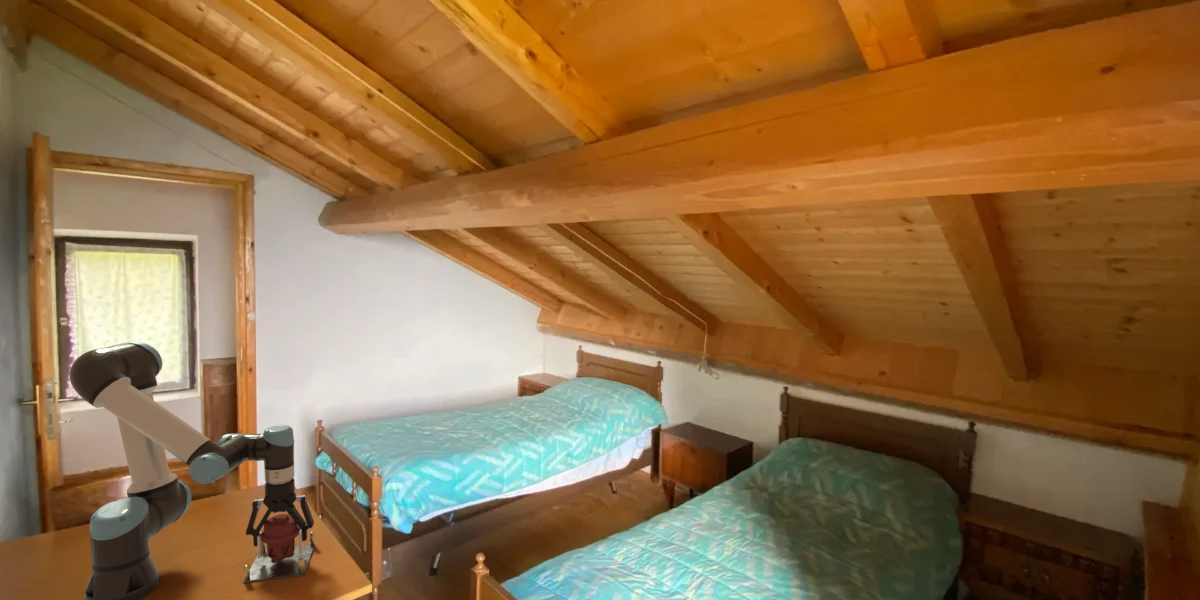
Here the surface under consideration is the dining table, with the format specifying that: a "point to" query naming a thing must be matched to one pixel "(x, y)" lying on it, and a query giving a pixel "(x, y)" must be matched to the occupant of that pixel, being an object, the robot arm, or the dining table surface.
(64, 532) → the dining table surface
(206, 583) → the dining table surface
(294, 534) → the mechanical component
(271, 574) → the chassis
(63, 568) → the dining table surface
